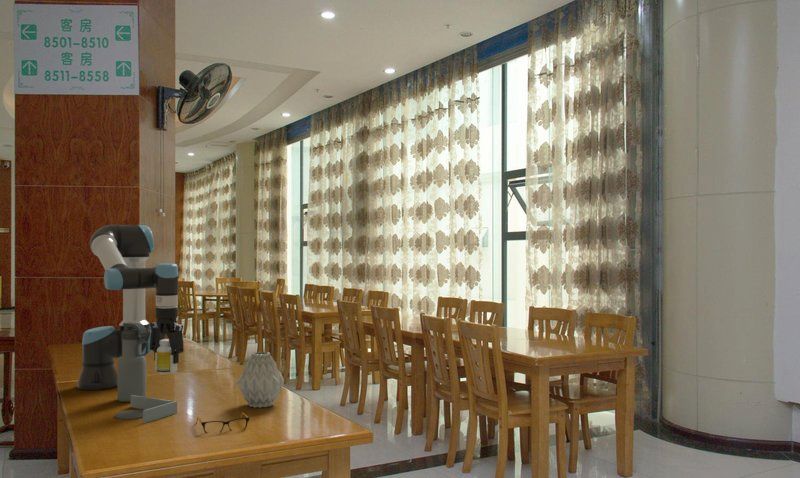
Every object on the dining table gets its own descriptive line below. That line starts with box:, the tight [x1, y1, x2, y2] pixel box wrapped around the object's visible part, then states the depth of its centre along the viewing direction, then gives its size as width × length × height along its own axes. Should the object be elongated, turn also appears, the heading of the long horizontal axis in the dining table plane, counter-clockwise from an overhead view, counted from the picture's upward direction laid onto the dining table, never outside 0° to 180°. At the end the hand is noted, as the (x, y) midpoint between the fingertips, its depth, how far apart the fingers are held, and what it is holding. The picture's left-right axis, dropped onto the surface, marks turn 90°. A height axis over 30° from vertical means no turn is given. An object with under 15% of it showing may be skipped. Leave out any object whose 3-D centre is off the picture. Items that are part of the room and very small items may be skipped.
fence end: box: [142, 400, 178, 424], centre depth 223 cm, size 1×14×4 cm, turn 153°
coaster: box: [114, 409, 144, 420], centre depth 226 cm, size 11×11×1 cm
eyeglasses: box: [196, 412, 250, 434], centre depth 213 cm, size 14×14×4 cm
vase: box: [237, 351, 285, 409], centre depth 240 cm, size 16×16×18 cm
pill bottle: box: [156, 338, 176, 375], centre depth 241 cm, size 6×6×12 cm
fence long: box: [130, 395, 174, 410], centre depth 233 cm, size 19×1×4 cm, turn 64°
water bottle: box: [117, 322, 149, 403], centre depth 249 cm, size 10×10×28 cm
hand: (166, 371), depth 241 cm, fingers closed on pill bottle, 6 cm apart
